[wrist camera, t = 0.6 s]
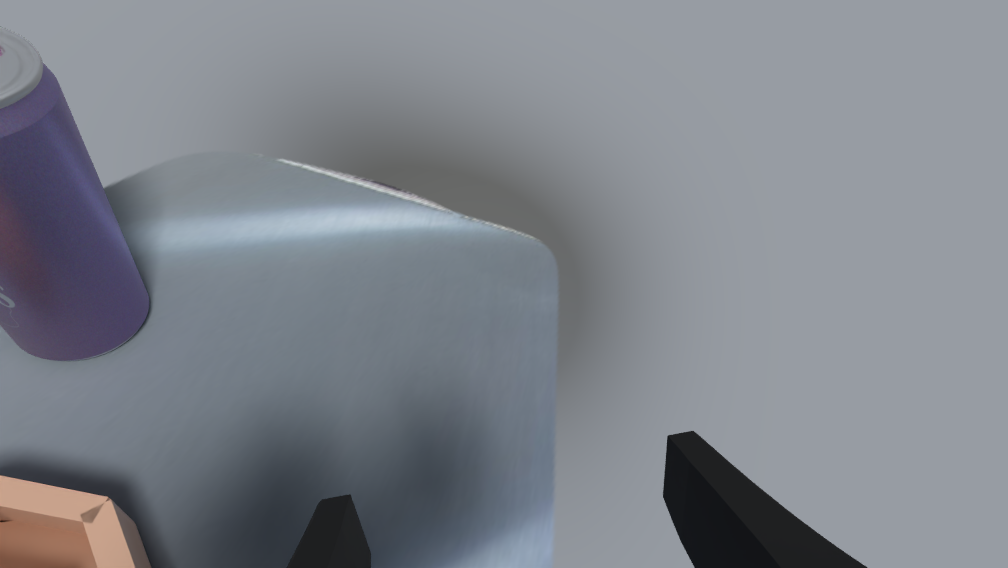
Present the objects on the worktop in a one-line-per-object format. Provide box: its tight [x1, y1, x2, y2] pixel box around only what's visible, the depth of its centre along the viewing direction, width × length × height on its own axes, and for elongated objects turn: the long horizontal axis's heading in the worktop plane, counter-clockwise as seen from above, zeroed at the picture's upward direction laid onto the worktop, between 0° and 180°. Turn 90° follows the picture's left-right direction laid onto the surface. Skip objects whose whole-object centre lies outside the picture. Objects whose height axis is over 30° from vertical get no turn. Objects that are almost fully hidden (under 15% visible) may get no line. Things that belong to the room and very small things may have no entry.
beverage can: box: [0, 27, 149, 361], centre depth 22 cm, size 6×6×15 cm
